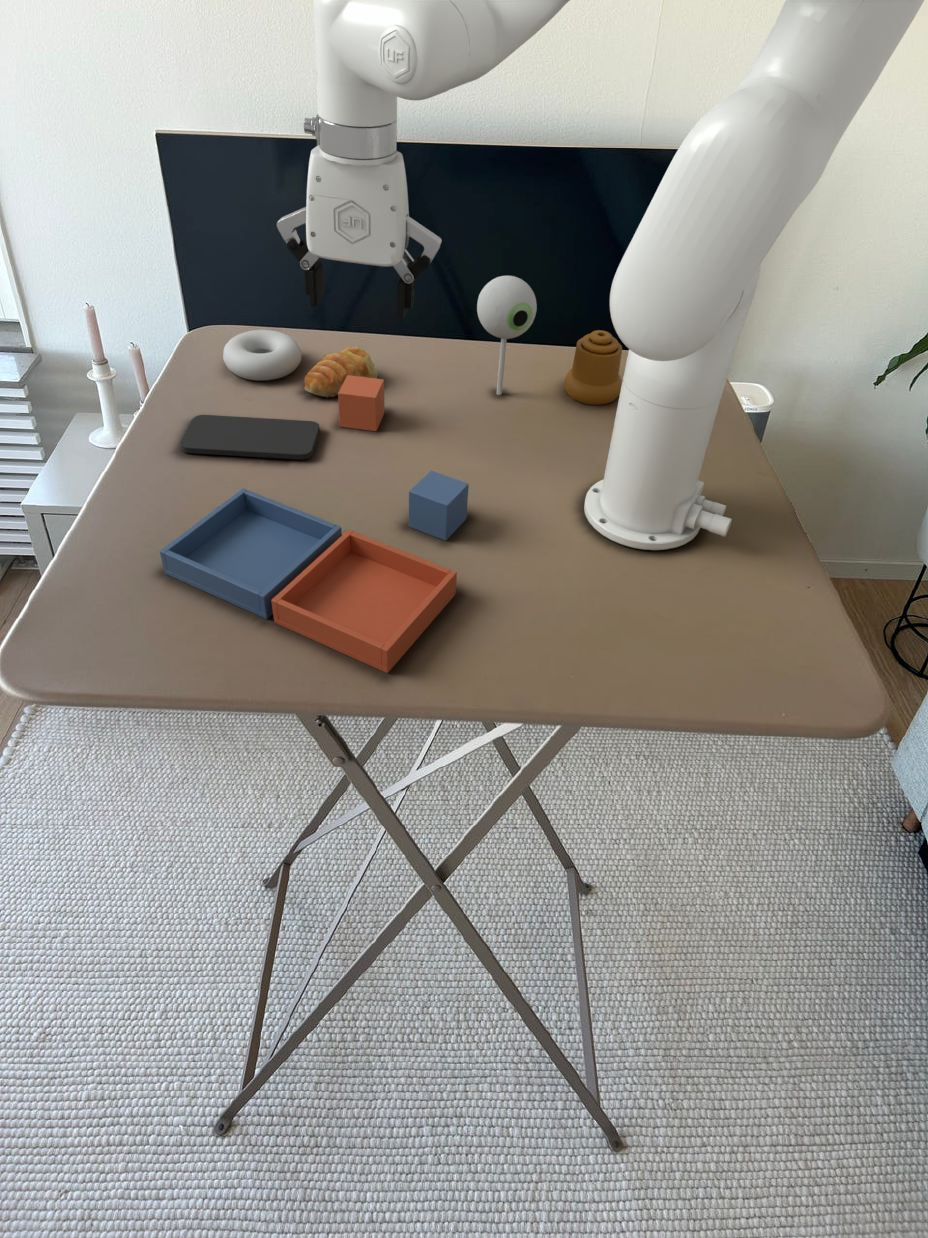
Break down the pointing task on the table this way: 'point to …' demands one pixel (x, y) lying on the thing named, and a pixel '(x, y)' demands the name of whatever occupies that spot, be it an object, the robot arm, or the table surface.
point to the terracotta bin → (365, 599)
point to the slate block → (438, 505)
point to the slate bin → (248, 550)
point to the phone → (250, 437)
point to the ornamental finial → (595, 369)
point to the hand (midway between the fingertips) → (360, 307)
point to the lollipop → (506, 312)
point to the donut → (262, 355)
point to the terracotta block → (361, 403)
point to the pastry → (339, 371)
